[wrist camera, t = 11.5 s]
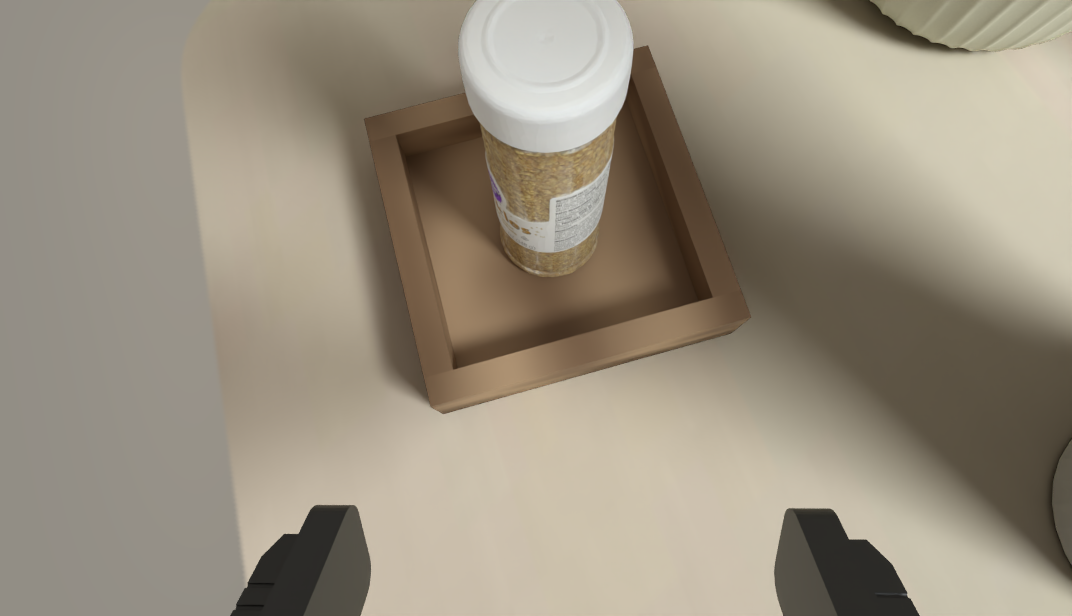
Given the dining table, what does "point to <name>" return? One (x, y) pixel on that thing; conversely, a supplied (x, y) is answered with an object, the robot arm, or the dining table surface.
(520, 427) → the dining table surface
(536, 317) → the tray
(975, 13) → the canister
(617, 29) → the spice jar
